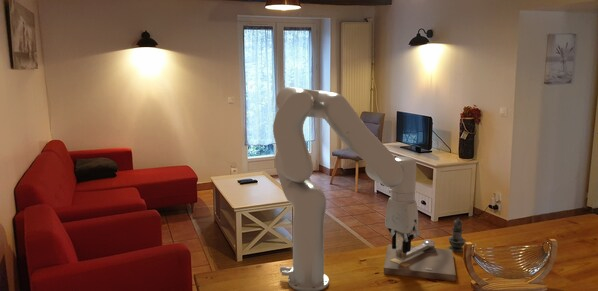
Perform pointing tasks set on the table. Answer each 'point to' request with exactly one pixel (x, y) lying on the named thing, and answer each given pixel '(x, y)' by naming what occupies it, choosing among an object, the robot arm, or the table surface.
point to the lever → (412, 251)
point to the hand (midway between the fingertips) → (401, 249)
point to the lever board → (422, 264)
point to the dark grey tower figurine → (457, 237)
